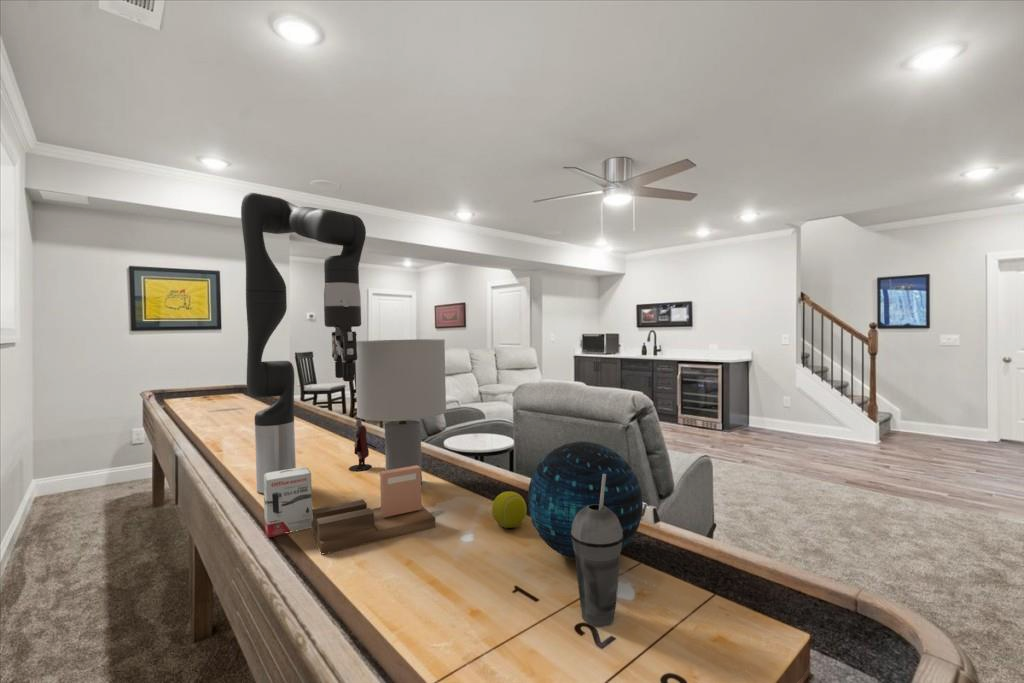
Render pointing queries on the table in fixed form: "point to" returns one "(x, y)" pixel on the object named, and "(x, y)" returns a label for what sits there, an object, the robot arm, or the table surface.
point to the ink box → (287, 501)
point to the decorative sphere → (581, 492)
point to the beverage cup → (597, 560)
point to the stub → (400, 490)
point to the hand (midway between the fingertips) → (344, 379)
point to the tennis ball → (509, 509)
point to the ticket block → (362, 525)
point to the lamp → (401, 392)
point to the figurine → (361, 447)
